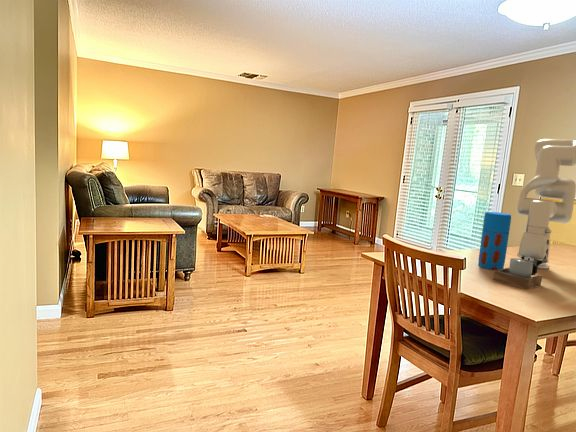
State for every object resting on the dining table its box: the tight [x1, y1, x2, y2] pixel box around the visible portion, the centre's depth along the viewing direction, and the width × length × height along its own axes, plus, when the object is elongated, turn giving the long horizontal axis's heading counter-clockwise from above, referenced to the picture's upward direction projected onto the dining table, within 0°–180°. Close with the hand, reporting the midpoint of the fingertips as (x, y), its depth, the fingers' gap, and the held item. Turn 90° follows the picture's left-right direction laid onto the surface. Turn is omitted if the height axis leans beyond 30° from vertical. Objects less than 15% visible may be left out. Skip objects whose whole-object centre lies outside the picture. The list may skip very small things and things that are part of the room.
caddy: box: [492, 267, 543, 290], centre depth 165 cm, size 12×13×4 cm
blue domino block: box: [477, 211, 512, 271], centre depth 187 cm, size 11×11×25 cm
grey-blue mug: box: [508, 257, 534, 278], centre depth 167 cm, size 14×8×9 cm, turn 125°
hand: (530, 273), depth 171 cm, fingers closed on grey-blue mug
